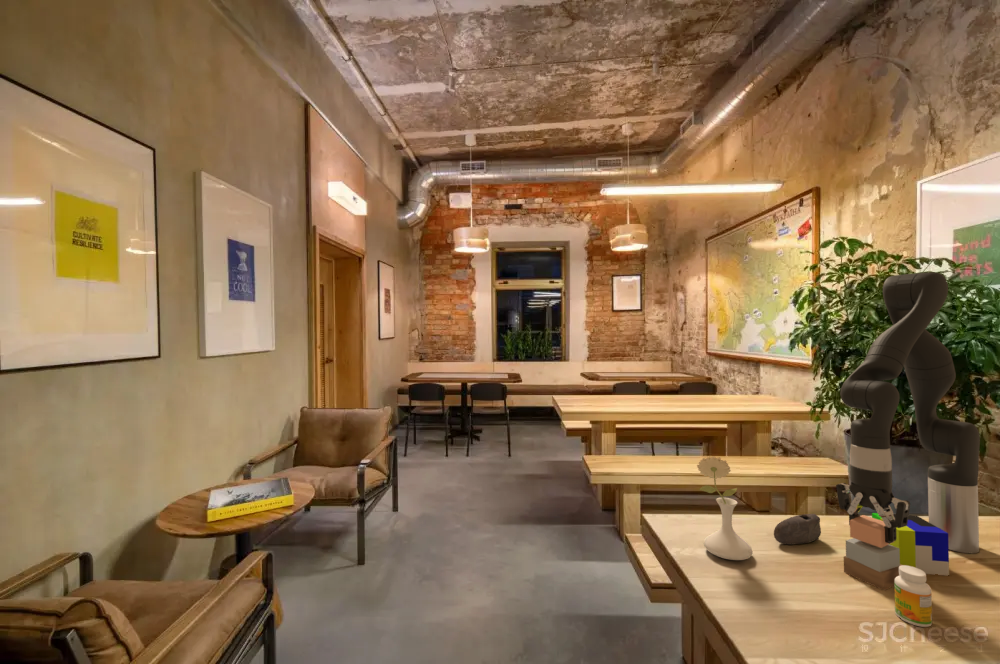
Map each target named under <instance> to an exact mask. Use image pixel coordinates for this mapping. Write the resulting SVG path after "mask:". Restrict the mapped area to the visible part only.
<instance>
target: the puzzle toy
mask: <svg viewBox="0 0 1000 664" xmlns="http://www.w3.org/2000/svg"><path fill="white" fill-rule="evenodd" d="M893 516H894V518H895V517H896V513H893ZM871 518H875V519H878V520H881V521H883V520H882V518H881V517H880V516H879V515H878V513H877V512H872V513H871ZM896 537H897V539H896V541H894V542H893V543H891V544H889V545H892V546H894V547H897V548H899V554H900V564H901V565H906V566H912V567H915V568H918V569H920V570H922V571H924V572H925V573H926V575H935V574H938V576H948V575H949V576H950V552H949V542H948V533H947V532H945V531H943V530H941V529H940V528H938V527H936V526H934V525H933V524H931V523H929V521H927V520H926V519H923V518H921V517H920V516H918V515H915V514H913V515H912V514H909V516H908V523H907V526H904V527H901V528H896Z"/></svg>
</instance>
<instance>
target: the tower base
mask: <svg viewBox="0 0 1000 664" xmlns="http://www.w3.org/2000/svg"><path fill="white" fill-rule="evenodd" d="M900 566H902V565H901V564H900ZM843 573H845V574H848V575H849V576H852V577H853V578H856V579H859V580H861V581H862V582H865V583H867V584H870V585H872V586H873V587H876V588H878V589H879V590H882V591H886V590H888V589H890V588H893V587H895V584H894V582H895V578H896V577H897V576H900V575H899V566H898V567H895V568H892V569H888V570H885V571H882V572H879V571H876V570H874V569H872V568H870V567H867V566H865V565H863V564H861V563H858V562H856V561H854V560H852V559H849V558H847V557H846V555H845V556H844V555H843Z"/></svg>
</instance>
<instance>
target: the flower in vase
mask: <svg viewBox="0 0 1000 664" xmlns="http://www.w3.org/2000/svg"><path fill="white" fill-rule="evenodd" d="M696 468H698V469H697V470H698V471H699V473H700V474H701V475H703V476H704V477H708V478H709V479H714V481H713V482H714V486H711V485H709V484H708V485H707V484H705V485H703V486H701V487H700V488H699V491H702V492H704V493H705V492H706V493H709V494H713V493H715V492H717V493H718V494H719V496H720V497H717V498H715V501H716V502H717V504H718V506H719V508H720V511H721V520H722V522H721V527H720V528H719V529H718V530H716V531H714V532H712V533H710V534H709V535H707V536H706V537H705V538H704V540H703V546H704V548H705V549H706V550H707V551H708V552H709V553H711V554H712V555H714V556H716V557H719V558H722V559H725V560H729V561H745V560H747V559H749V558H750V557H752V556H753V554H754V553H753V549H752V546H751V545H750V544H749V543H748V542H747V541H746V540H745V539H744V538H743V537H741V535H739V534H738V533H737V532H736V531H735V530H734V529H733V522H732V521H733V512H734V509H735V507H736V506H737V505H738V501H737V500H735V499H733V498H729V497H731V496H733V495H734V494H735V493H736V492H737V490H738V487H736V488H732V489H730V488H729V489H726V490H724V492H723V493H721V492H720V491H719V490H718V487H717V482H716V481H717V480H716V479H721V478H726V477H727V476H728V475H729V474H730V473H731V472H732V470H731V467H730V465H729V463H728V462H727V460H724V459H722V458H721V457H716V456H712V457H711V456H709V455H708V456H707V457H703V458H702V459H700V460H699V462H698V464H697V465H696Z"/></svg>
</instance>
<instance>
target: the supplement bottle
mask: <svg viewBox="0 0 1000 664" xmlns="http://www.w3.org/2000/svg"><path fill="white" fill-rule="evenodd" d="M899 575H900V576H897V577H896V578H895V582H894V584H895V586H894V612H895V615H896V616H897V617H898V618H899V617H900V618H901V619H900V618H899V619H900V620H903V621H904V622H906V623H907V624H909V625H914V626H917V627H922V628H928V627H931V626H932V624H933V613H932V612H933V607H932V606H933V604H932V603H933V601H932V599H933V598H932V589H931V586H930V585H929V584H928V583H926V582H927V574H926V573H925V572H924V571H922V570H920V569H918V568H915V567H912V566H906V565H902V566H899Z"/></svg>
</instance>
